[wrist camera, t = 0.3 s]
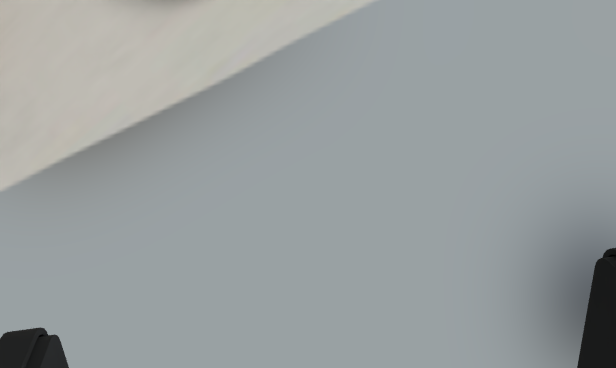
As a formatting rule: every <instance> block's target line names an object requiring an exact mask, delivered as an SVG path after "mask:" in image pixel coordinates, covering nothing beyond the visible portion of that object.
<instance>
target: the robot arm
mask: <svg viewBox="0 0 616 368" xmlns="http://www.w3.org/2000/svg"><path fill="white" fill-rule="evenodd" d="M0 368H69V367H68V364H67V360H66V357H65V354H64V351H63V348H62V345H61V342H60V339H59V337H58V336H57V335H49V336H48V334H47V331H46V330H45V329H44V328H34V329H27V330H19V331H12V332H7V333H5V334H3V336H2V337H1V338H0ZM577 368H616V248H612V249H609V250H607V251H606V252H605V253H604V255H603V258H601V259H599V260H598V261H597V262H596V265H595V270H594V275H593V281H592V286H591V292H590V298H589V303H588V309H587V315H586V321H585V326H584V333H583V338H582V344H581V349H580V355H579V361H578V366H577Z"/></svg>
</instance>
